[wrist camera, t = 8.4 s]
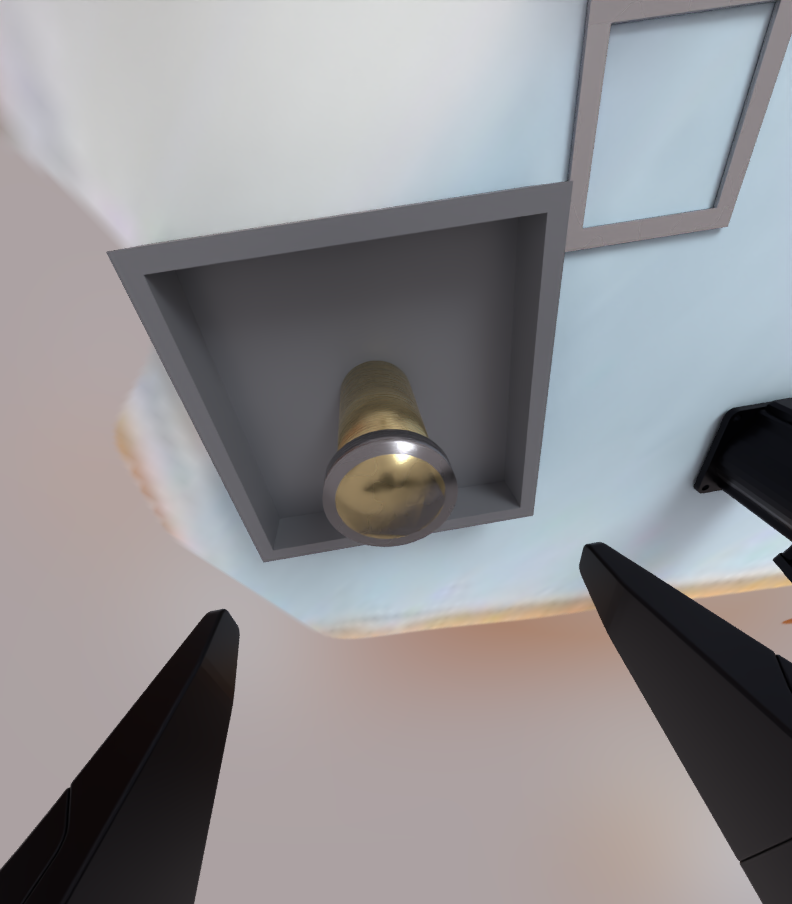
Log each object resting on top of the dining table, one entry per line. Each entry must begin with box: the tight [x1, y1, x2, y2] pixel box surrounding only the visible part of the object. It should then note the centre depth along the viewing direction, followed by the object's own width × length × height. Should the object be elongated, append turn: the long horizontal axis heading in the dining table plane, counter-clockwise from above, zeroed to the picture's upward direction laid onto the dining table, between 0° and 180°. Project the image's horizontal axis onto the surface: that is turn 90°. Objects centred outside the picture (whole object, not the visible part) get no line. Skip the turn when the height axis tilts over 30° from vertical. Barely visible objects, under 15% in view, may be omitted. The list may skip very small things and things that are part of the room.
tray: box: [107, 181, 573, 562], centre depth 18 cm, size 16×16×3 cm
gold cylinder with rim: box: [322, 361, 458, 547], centre depth 15 cm, size 4×4×8 cm
